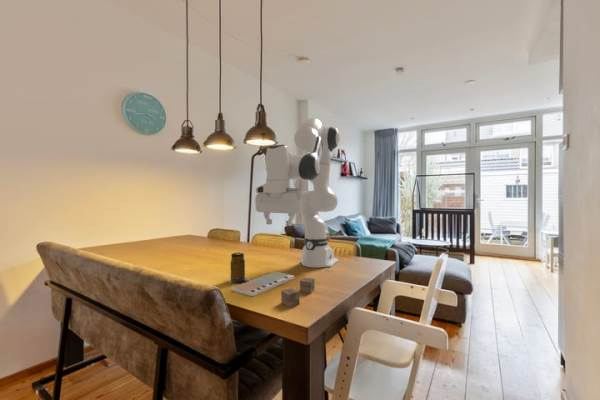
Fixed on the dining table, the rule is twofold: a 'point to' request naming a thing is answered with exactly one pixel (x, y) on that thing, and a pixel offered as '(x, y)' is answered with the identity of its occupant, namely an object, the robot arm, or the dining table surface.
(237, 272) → the condiment
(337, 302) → the dining table surface
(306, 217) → the robot arm
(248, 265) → the dining table surface
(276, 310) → the dining table surface
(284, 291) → the walnut block
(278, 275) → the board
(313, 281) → the walnut block
